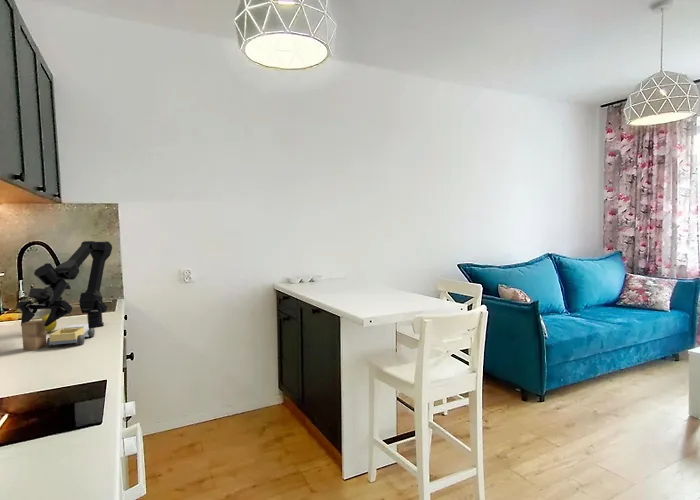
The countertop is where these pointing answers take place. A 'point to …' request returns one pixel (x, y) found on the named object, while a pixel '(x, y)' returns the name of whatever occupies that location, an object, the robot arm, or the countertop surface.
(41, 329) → the walnut block
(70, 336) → the toy chassis
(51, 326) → the lemon
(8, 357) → the countertop surface
